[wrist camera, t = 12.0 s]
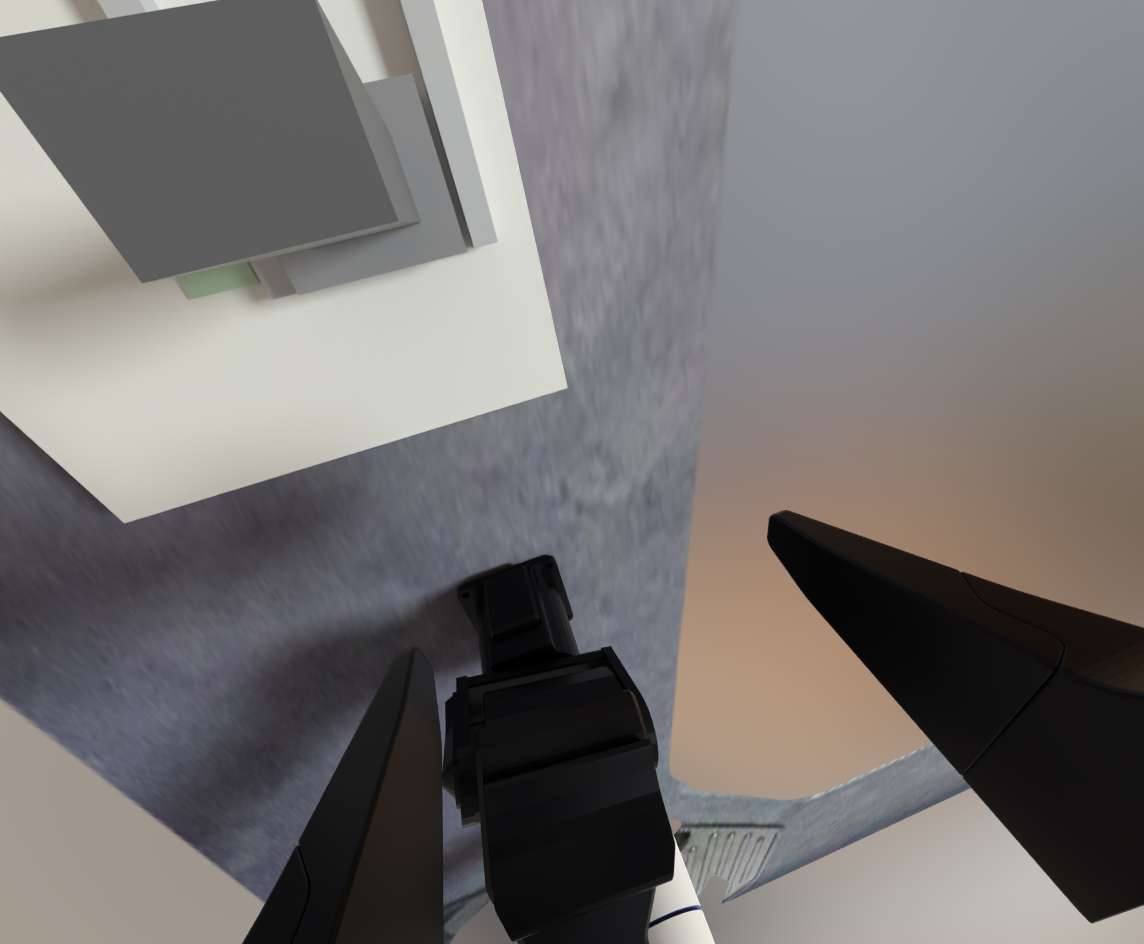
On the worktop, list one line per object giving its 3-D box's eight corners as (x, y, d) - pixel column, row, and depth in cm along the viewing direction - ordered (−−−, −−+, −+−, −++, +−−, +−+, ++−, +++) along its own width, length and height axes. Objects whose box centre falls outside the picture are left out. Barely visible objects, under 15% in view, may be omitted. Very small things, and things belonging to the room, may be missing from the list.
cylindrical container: (647, 762, 47) (807, 1177, 27) (590, 789, 47) (709, 1232, 26) (634, 738, 43) (812, 1205, 23) (573, 767, 43) (696, 1270, 22)
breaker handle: (463, 248, 14) (499, 285, 6) (315, 286, 13) (119, 387, 5) (415, 94, 12) (361, -206, 4) (235, 131, 11) (-336, -126, 3)
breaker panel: (551, 367, 20) (573, 396, 17) (167, 482, 18) (106, 540, 15) (388, -320, 10) (363, -582, 7) (-523, -243, 8) (-1193, -567, 5)
